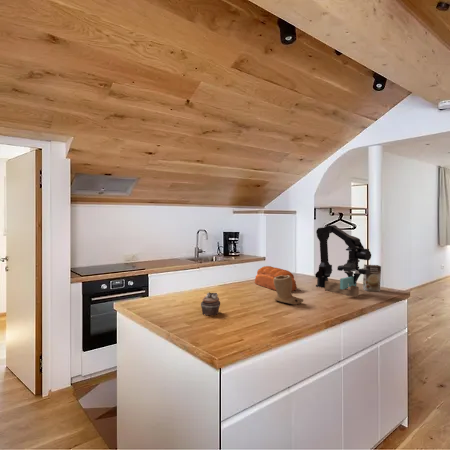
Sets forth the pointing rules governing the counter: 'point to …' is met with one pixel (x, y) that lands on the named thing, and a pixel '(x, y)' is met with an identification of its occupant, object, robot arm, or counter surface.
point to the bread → (272, 277)
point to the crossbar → (347, 280)
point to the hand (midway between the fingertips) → (352, 283)
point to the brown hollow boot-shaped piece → (285, 290)
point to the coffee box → (372, 278)
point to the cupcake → (210, 304)
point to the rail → (336, 289)
